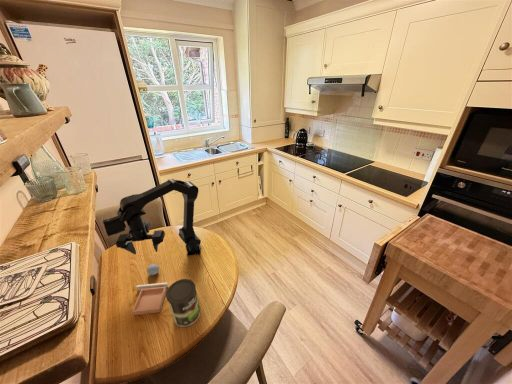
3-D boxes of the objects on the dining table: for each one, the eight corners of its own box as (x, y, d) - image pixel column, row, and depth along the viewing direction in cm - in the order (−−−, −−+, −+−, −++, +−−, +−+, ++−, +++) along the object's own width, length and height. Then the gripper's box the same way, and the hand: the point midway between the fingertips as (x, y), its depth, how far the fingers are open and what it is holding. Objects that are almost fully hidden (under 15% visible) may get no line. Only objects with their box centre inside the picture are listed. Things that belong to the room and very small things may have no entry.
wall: (168, 286, 95) (167, 282, 94) (168, 287, 94) (166, 283, 93) (138, 289, 94) (136, 285, 93) (137, 290, 93) (136, 286, 92)
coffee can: (206, 309, 85) (201, 286, 78) (186, 332, 78) (179, 309, 71) (188, 297, 90) (182, 274, 83) (168, 317, 82) (159, 294, 76)
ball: (161, 268, 104) (158, 261, 101) (158, 277, 99) (155, 269, 97) (150, 269, 103) (148, 262, 101) (147, 278, 99) (144, 270, 96)
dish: (166, 289, 93) (165, 286, 92) (160, 312, 84) (158, 308, 83) (142, 292, 92) (141, 289, 91) (133, 315, 84) (131, 311, 83)
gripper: (163, 212, 97) (170, 238, 105) (120, 216, 95) (130, 242, 102) (157, 227, 88) (166, 254, 95) (109, 232, 85) (121, 260, 93)
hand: (146, 252), depth 97 cm, fingers open, 9 cm apart
